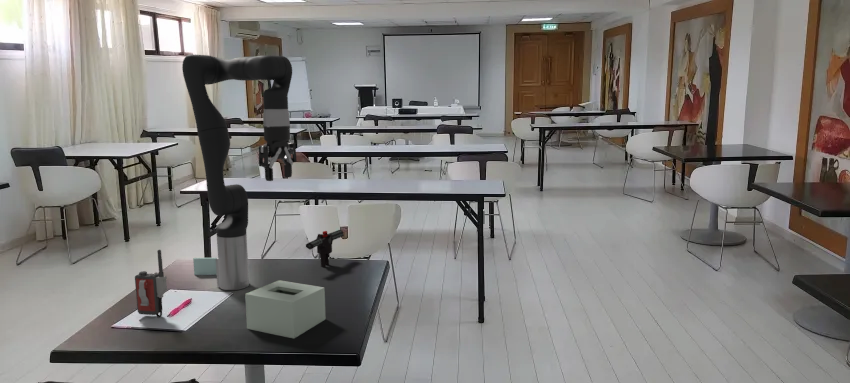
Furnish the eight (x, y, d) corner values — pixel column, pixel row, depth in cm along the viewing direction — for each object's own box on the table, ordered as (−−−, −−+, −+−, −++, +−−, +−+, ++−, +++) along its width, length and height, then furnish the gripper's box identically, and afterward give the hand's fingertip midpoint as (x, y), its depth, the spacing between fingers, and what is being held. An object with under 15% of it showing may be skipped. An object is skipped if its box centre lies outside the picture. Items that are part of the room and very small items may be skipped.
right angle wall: (239, 269, 231) (238, 249, 230) (229, 279, 219) (227, 258, 218) (206, 269, 231) (205, 249, 230) (194, 279, 220) (193, 258, 218)
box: (247, 329, 172) (245, 293, 171) (280, 313, 185) (279, 280, 183) (294, 339, 165) (292, 302, 164) (325, 321, 177) (324, 287, 176)
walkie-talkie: (170, 316, 183) (165, 248, 180) (161, 321, 179) (156, 252, 176) (143, 314, 185) (137, 247, 182) (133, 319, 180) (127, 251, 177)
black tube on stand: (347, 266, 234) (346, 226, 232) (316, 280, 217) (315, 237, 214) (335, 264, 236) (333, 225, 234) (304, 278, 219) (302, 236, 217)
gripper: (282, 123, 195) (284, 175, 197) (250, 125, 182) (252, 181, 185) (301, 123, 191) (303, 176, 194) (270, 126, 179) (273, 182, 181)
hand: (278, 178), depth 189 cm, fingers open, 8 cm apart
